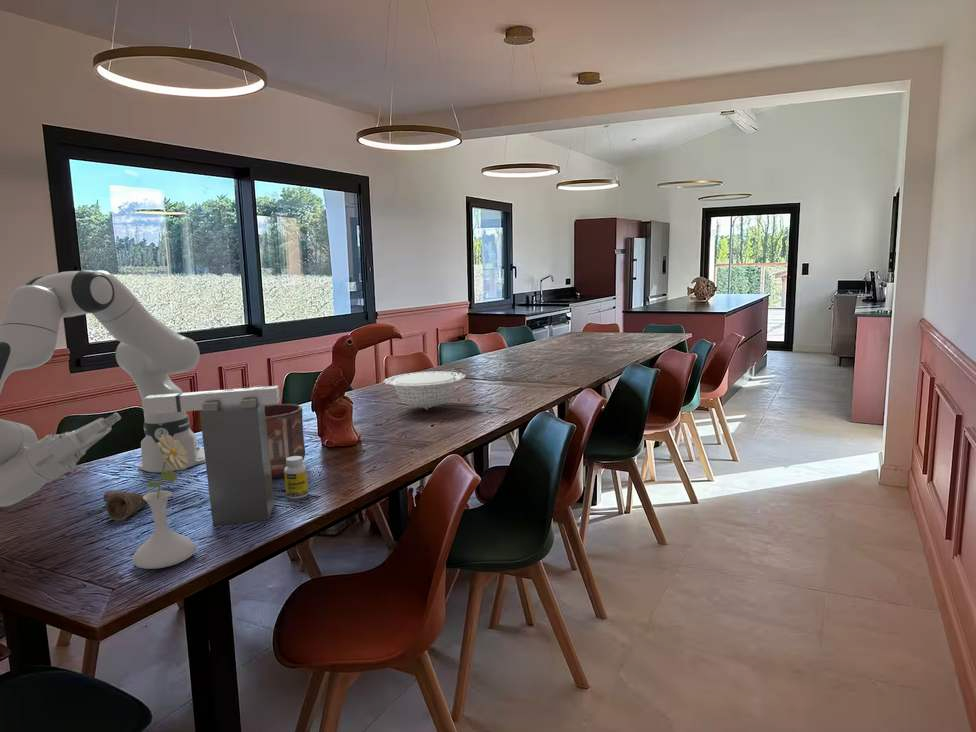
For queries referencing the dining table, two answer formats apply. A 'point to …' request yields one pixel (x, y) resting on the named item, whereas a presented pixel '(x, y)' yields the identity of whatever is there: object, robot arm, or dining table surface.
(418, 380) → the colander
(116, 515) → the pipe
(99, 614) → the dining table surface
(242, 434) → the block
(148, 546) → the flower in vase
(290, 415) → the pottery
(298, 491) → the supplement bottle
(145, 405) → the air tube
